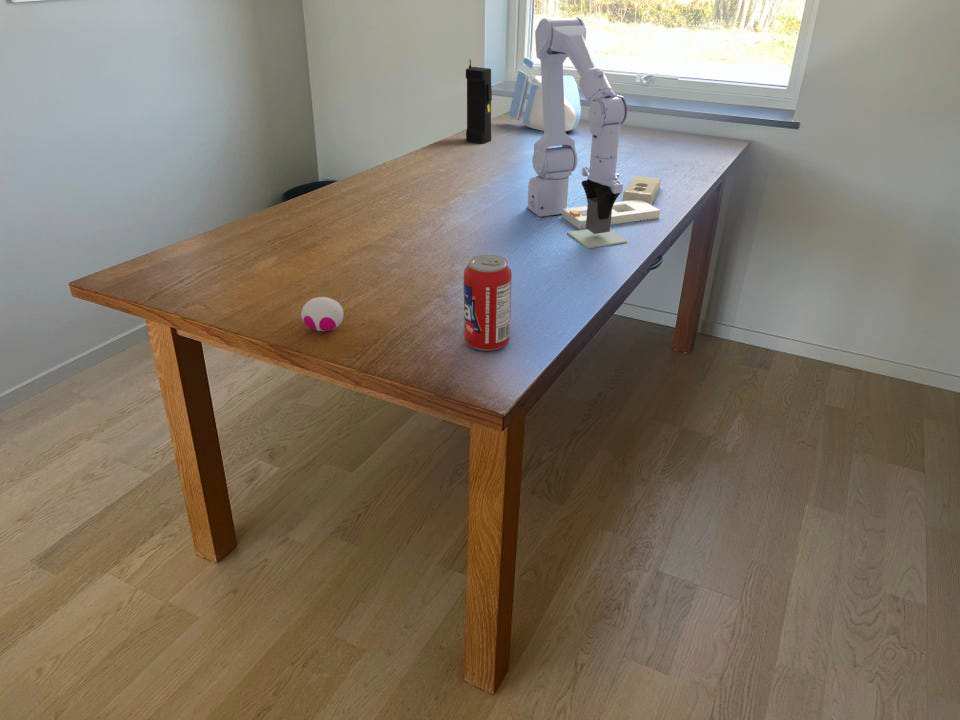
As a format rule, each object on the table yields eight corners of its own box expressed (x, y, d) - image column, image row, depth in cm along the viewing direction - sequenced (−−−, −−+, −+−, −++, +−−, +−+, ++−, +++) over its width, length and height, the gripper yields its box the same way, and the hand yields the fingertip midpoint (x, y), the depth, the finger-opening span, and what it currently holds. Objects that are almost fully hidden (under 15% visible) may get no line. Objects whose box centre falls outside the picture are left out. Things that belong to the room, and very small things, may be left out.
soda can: (506, 356, 125) (508, 273, 117) (459, 352, 126) (459, 269, 118) (512, 334, 131) (515, 254, 124) (468, 330, 133) (468, 251, 125)
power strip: (579, 229, 177) (580, 218, 175) (562, 216, 184) (562, 206, 182) (659, 217, 184) (660, 207, 182) (639, 206, 191) (640, 196, 189)
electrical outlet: (661, 175, 202) (651, 194, 188) (659, 189, 204) (649, 210, 190) (634, 172, 204) (623, 191, 190) (633, 186, 206) (621, 206, 192)
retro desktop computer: (522, 53, 251) (556, 48, 260) (508, 116, 267) (541, 109, 275) (571, 86, 239) (605, 80, 248) (553, 149, 255) (586, 141, 263)
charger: (594, 234, 168) (597, 204, 165) (585, 228, 172) (588, 198, 168) (609, 231, 170) (612, 201, 166) (600, 225, 173) (603, 196, 169)
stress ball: (303, 347, 134) (289, 330, 128) (313, 308, 137) (300, 290, 131) (343, 350, 132) (332, 332, 126) (352, 310, 136) (341, 292, 130)
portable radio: (495, 140, 247) (496, 60, 235) (485, 144, 243) (486, 62, 230) (474, 137, 251) (475, 58, 238) (465, 141, 246) (464, 60, 234)
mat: (587, 248, 166) (587, 246, 166) (567, 233, 174) (567, 231, 174) (626, 242, 169) (627, 241, 169) (604, 228, 177) (605, 226, 177)
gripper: (637, 162, 157) (630, 223, 164) (603, 145, 169) (598, 203, 176) (608, 165, 155) (602, 227, 162) (575, 148, 167) (571, 206, 174)
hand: (598, 215), depth 169 cm, fingers closed on charger, 4 cm apart
